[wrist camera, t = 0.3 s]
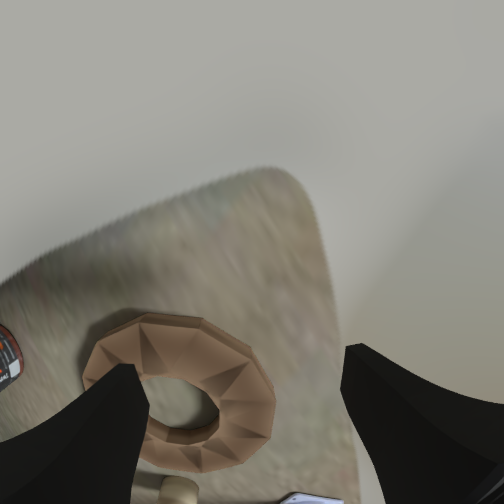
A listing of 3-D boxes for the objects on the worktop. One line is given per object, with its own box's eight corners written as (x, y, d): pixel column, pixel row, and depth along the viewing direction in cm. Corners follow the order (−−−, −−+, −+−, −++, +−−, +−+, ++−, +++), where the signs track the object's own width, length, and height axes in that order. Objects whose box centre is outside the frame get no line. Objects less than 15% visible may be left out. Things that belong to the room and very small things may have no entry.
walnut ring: (212, 474, 21) (211, 488, 20) (77, 401, 20) (68, 412, 18) (309, 378, 20) (314, 392, 18) (137, 274, 19) (126, 280, 17)
